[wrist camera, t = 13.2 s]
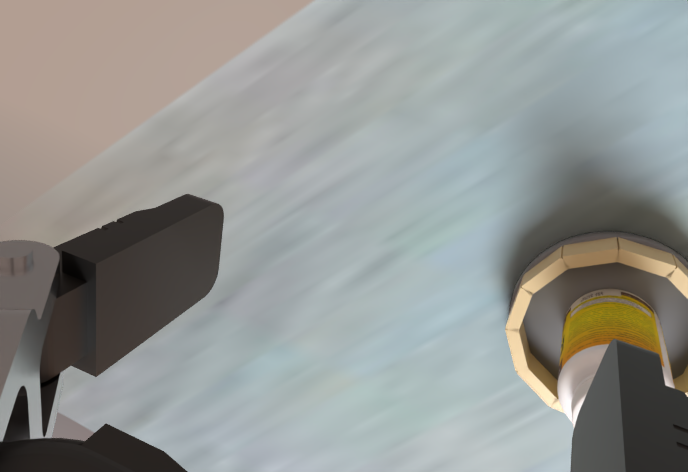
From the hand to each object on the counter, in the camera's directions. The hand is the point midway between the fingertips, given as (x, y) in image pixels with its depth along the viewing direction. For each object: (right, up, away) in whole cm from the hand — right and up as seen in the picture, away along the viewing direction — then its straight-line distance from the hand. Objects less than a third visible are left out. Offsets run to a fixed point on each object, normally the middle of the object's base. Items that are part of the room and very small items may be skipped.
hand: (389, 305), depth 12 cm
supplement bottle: (+16, -4, +25) cm, 30 cm away
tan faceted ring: (+16, -4, +26) cm, 31 cm away
